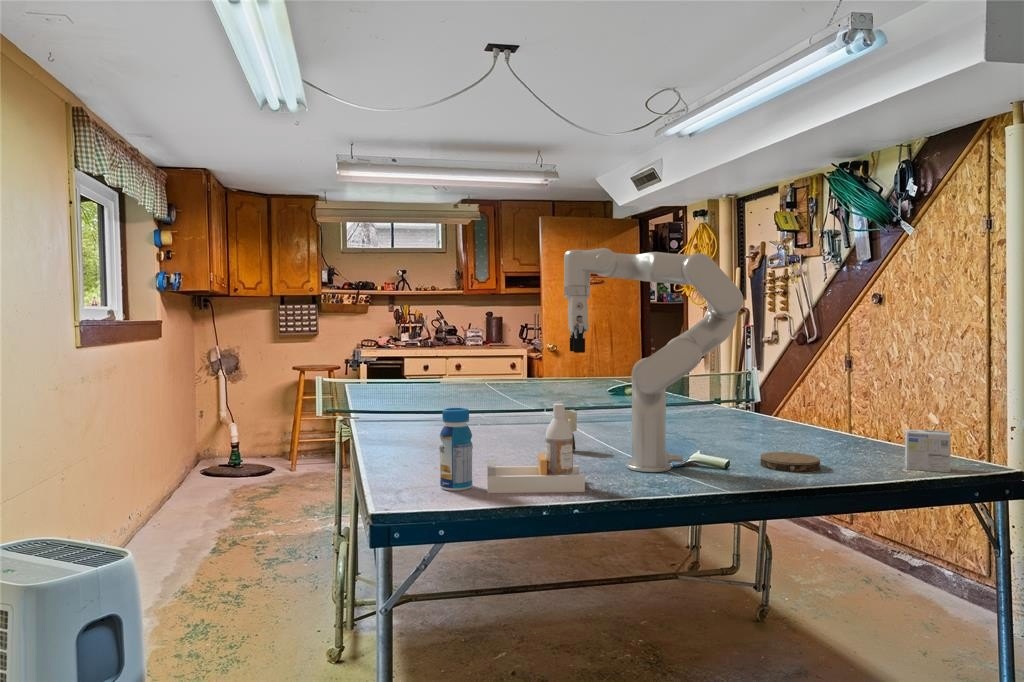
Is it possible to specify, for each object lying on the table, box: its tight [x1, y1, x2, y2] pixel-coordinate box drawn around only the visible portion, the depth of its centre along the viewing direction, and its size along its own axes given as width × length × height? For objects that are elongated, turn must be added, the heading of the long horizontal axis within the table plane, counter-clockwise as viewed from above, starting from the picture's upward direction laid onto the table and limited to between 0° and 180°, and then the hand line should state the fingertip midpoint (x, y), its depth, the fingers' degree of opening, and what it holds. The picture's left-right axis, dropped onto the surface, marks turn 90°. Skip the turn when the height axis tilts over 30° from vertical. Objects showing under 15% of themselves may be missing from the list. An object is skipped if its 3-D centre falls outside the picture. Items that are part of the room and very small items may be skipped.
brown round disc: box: [760, 451, 821, 474], centre depth 191 cm, size 16×16×3 cm
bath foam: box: [544, 403, 574, 475], centre depth 169 cm, size 7×7×20 cm
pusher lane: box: [486, 459, 586, 494], centre depth 169 cm, size 24×12×6 cm, turn 92°
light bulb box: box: [904, 428, 952, 473], centre depth 187 cm, size 11×7×11 cm, turn 65°
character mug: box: [565, 409, 578, 451], centre depth 215 cm, size 11×7×13 cm, turn 11°
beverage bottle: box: [438, 407, 474, 492], centre depth 168 cm, size 8×8×20 cm
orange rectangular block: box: [537, 452, 547, 475], centre depth 169 cm, size 2×9×6 cm, turn 2°
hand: (577, 351), depth 192 cm, fingers open, 9 cm apart
